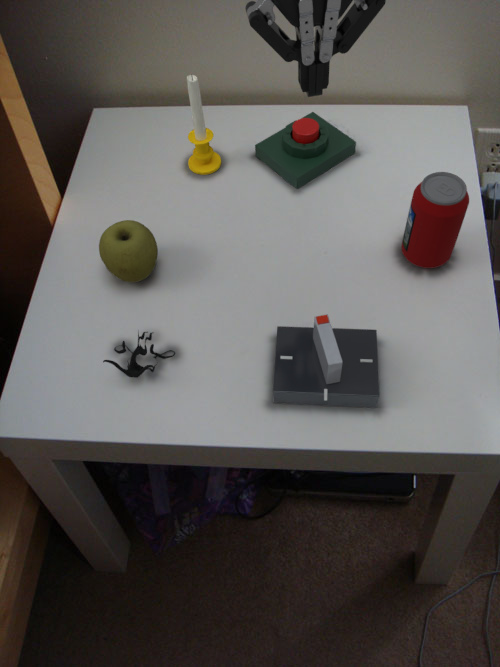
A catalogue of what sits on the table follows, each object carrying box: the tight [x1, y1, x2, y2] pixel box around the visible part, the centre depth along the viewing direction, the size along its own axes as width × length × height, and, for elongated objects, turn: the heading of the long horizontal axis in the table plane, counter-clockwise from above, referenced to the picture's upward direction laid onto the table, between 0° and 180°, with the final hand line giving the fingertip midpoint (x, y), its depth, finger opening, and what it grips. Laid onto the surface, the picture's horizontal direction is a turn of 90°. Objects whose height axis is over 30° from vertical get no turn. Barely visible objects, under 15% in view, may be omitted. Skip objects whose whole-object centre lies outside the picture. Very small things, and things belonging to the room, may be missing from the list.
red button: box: [292, 117, 319, 144], centre depth 90 cm, size 4×4×2 cm
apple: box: [98, 219, 159, 283], centre depth 80 cm, size 8×8×7 cm
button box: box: [254, 111, 357, 190], centre depth 92 cm, size 12×10×4 cm
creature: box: [102, 329, 176, 379], centre depth 73 cm, size 8×5×8 cm
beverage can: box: [400, 171, 470, 269], centre depth 77 cm, size 7×7×12 cm
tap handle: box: [313, 314, 343, 384], centre depth 68 cm, size 6×2×5 cm, turn 11°
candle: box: [186, 74, 222, 176], centre depth 88 cm, size 5×5×16 cm
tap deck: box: [272, 325, 380, 409], centre depth 71 cm, size 12×11×3 cm
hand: (313, 91), depth 61 cm, fingers closed
